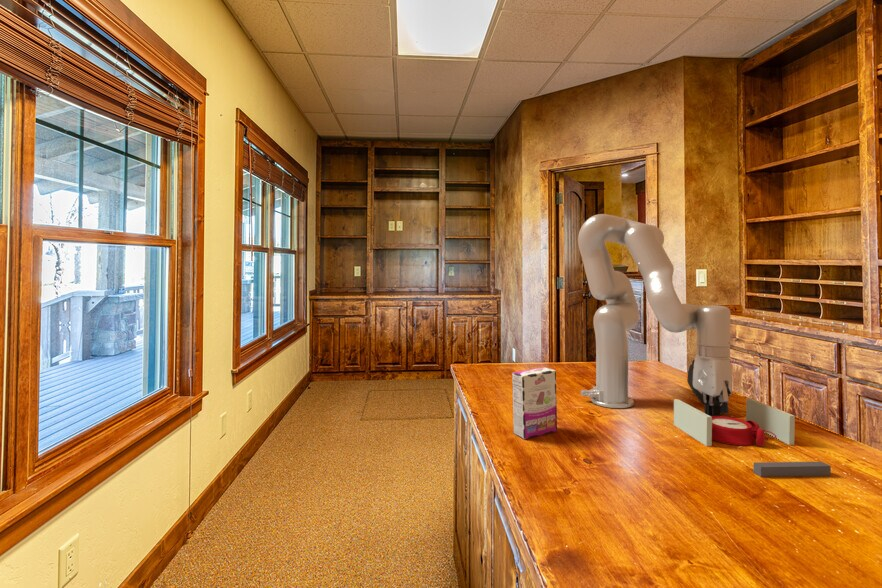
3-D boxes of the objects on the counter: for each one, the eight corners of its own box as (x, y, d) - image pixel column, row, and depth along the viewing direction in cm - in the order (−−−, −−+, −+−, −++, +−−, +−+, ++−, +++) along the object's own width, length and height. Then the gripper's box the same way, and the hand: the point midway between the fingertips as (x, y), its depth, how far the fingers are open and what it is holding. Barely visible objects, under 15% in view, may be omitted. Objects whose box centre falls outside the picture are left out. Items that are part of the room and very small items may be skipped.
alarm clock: (695, 414, 111) (763, 408, 105) (701, 437, 110) (769, 432, 104) (703, 427, 101) (777, 421, 95) (709, 453, 101) (784, 448, 95)
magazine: (732, 389, 114) (701, 341, 141) (718, 388, 115) (690, 341, 142) (725, 440, 120) (696, 385, 147) (712, 439, 121) (686, 384, 148)
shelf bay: (706, 446, 99) (706, 417, 98) (673, 424, 113) (673, 399, 112) (794, 444, 98) (794, 415, 98) (750, 423, 112) (751, 398, 112)
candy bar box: (544, 425, 114) (544, 366, 113) (557, 431, 109) (557, 370, 108) (511, 433, 108) (511, 371, 108) (523, 440, 104) (523, 375, 103)
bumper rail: (760, 476, 84) (760, 467, 83) (753, 472, 86) (753, 462, 85) (830, 475, 84) (830, 466, 83) (821, 471, 86) (821, 461, 85)
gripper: (682, 347, 119) (682, 410, 120) (717, 357, 104) (717, 429, 105) (709, 346, 119) (708, 409, 120) (747, 356, 104) (746, 428, 105)
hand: (712, 418), depth 112 cm, fingers closed
